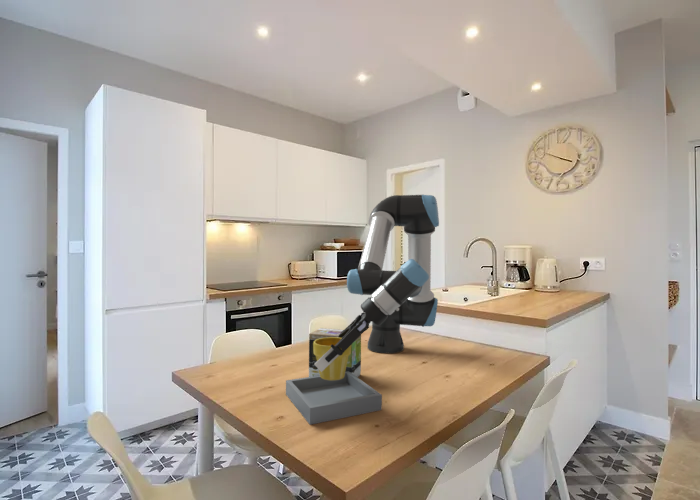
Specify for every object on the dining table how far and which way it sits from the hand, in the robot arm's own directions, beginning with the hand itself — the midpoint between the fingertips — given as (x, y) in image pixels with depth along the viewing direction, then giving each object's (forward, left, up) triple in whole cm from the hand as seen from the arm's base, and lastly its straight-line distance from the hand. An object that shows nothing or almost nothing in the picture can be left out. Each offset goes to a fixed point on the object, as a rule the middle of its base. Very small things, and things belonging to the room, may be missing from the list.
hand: (321, 361), depth 103 cm
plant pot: (+2, +3, -4) cm, 5 cm away
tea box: (-17, +12, -11) cm, 23 cm away
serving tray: (+1, +3, -11) cm, 12 cm away
